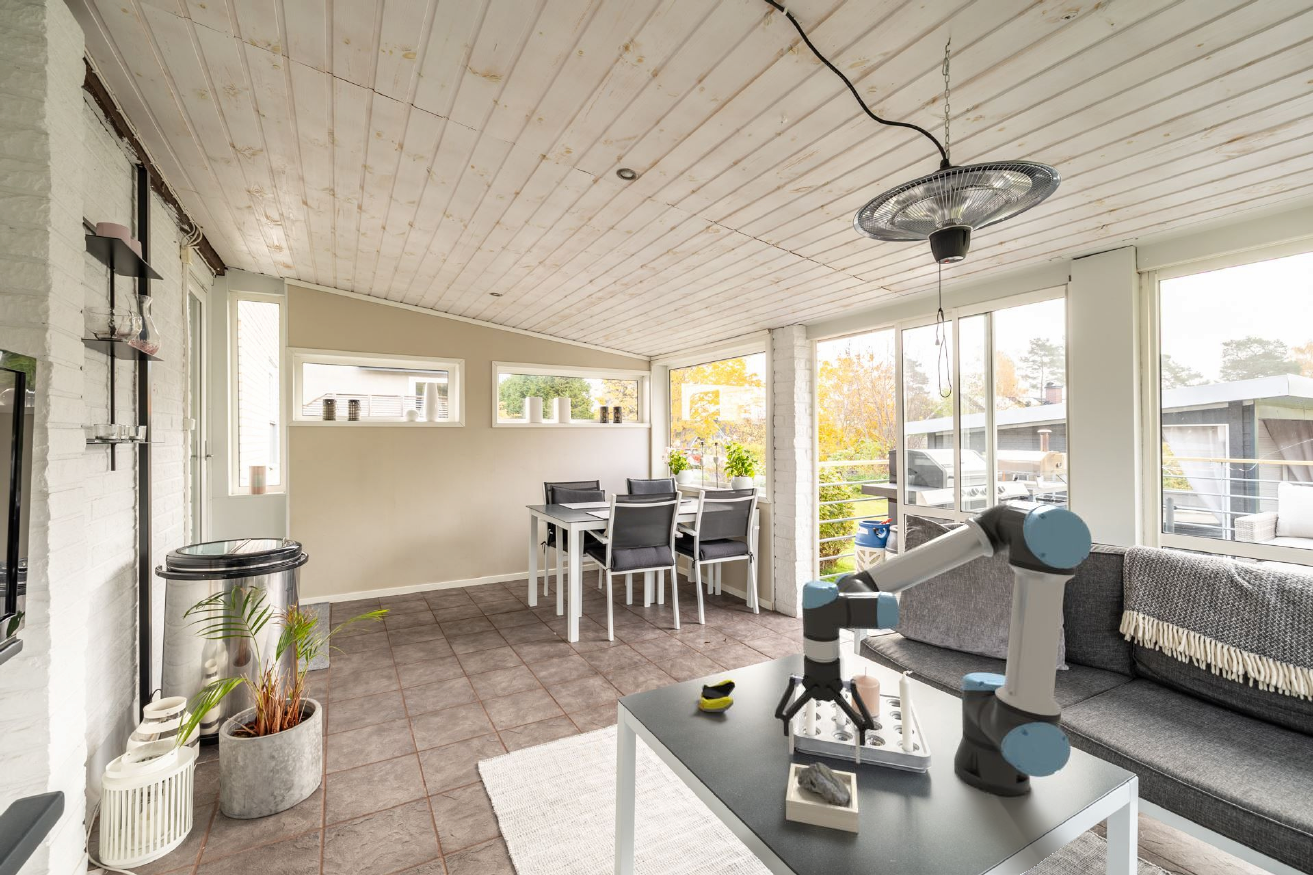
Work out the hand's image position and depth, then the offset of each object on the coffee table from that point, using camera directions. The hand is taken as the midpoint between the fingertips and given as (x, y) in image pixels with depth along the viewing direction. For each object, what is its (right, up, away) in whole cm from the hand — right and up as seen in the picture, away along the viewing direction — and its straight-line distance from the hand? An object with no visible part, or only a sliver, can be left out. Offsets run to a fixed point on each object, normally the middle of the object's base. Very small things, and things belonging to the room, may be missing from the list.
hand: (824, 755), depth 124 cm
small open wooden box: (0, -11, 0) cm, 11 cm away
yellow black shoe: (-18, -11, +46) cm, 51 cm away
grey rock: (0, -8, 0) cm, 8 cm away
